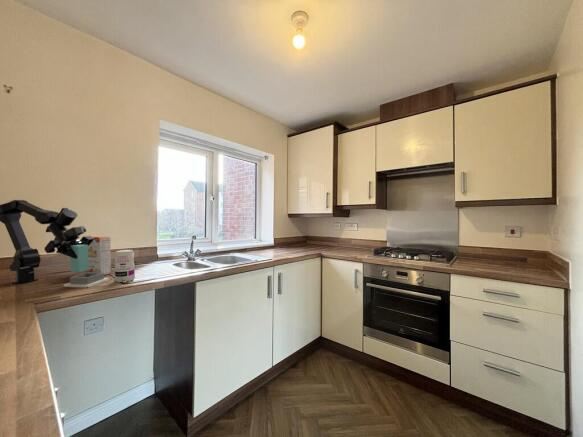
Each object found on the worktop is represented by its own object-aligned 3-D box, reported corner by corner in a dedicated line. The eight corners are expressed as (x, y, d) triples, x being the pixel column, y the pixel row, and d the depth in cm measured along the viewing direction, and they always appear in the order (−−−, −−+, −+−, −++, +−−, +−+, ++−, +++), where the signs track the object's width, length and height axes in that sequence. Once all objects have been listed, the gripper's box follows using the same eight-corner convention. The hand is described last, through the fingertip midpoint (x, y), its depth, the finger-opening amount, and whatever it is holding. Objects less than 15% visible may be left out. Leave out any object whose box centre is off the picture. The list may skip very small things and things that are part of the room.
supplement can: (131, 277, 131) (130, 248, 131) (137, 280, 126) (136, 250, 126) (112, 280, 125) (112, 251, 124) (118, 284, 120) (117, 253, 119)
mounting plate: (63, 286, 115) (63, 278, 115) (86, 279, 127) (86, 271, 127) (88, 287, 115) (88, 278, 114) (109, 279, 127) (109, 272, 126)
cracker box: (83, 273, 138) (82, 235, 137) (95, 271, 143) (94, 234, 142) (100, 276, 133) (98, 237, 132) (111, 273, 138) (110, 235, 137)
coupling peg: (70, 271, 115) (70, 245, 115) (80, 269, 120) (79, 244, 119) (79, 272, 114) (78, 246, 114) (88, 270, 119) (87, 244, 118)
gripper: (48, 222, 108) (70, 248, 106) (90, 219, 126) (110, 242, 124) (34, 239, 109) (56, 266, 108) (78, 235, 128) (96, 257, 126)
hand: (81, 257), depth 117 cm, fingers closed on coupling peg, 4 cm apart
